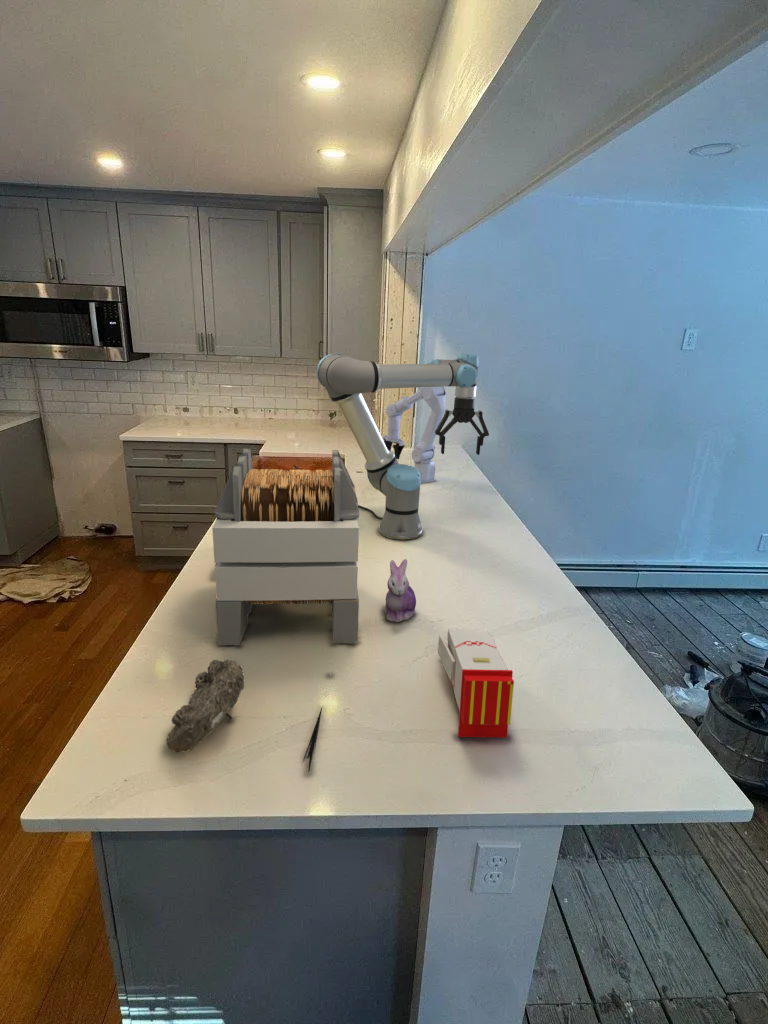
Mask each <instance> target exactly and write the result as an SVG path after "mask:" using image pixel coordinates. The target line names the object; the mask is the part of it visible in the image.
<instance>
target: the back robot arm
mask: <svg viewBox="0 0 768 1024" xmlns="http://www.w3.org/2000/svg"><path fill="white" fill-rule="evenodd" d="M447 396H448V393H447V391H446V387H445V386H443V387H420V389H419V390H417V391H416V392H415V393H413V394H412V395H410V396H405V395H404V396H401V398H400V399H399V400H396V401H394V403H389V404H387V406H386V407H385V414H386V415H387V416H388V417H387V435H382V439H383V441H384V443H385V445H386V447H387V449H388V451H392V448H393V453H394V454H395V457H396V459H397V460H399V459H400V458H401V454H402V451H403V450H404V448H405V441H404V440H402V439H401V438H400V433H401V432H400V431H401V419H402V415H403V414H404V413H405V412H407V411H408V410H410V409H412V408H413V405H414V404H415V403H417V402H419V401H422V400H424V401H425V403H426V404H427V406H428V407H429V408H430V409H431V411H430V412H429V416H428V419H427V422H426V425H425V428H424V431H423V434H422V436H421V440H420V441H419V442H418V443H416V445H415V447H414V449H413V450H412V452H411V458H412V460H413V463H414V466H413V467H414V468H416V469H417V470H418V471H419V472H420V479H421V484H423V483H430V482H431V483H432V482H436V479H435V477H436V463H435V462H434V461H433V458H434V457H435V449H436V445H434V442H435V439H436V436H437V435H436V434H435V430H436V429H437V427H438V425H439V423H440V422H441V420H442V418H443V416H444V414H445V410H446V398H447Z"/></svg>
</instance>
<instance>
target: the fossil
mask: <svg viewBox="0 0 768 1024" xmlns="http://www.w3.org/2000/svg"><path fill="white" fill-rule="evenodd" d="M243 670H244V669H243V667H242V665H240V664H237V662H236V661H235V660H234V659H232V658H231V659H227V658H226V659H224V660H223V661H222V660H217V659H212V660H211V661H210V663H209V665H208V666H207V671H201V672H199V673H198V674H197V675H196V676H195V680H194V684H195V685H194V687H195V689H194V690H193V693H192V694H191V697H190V698H189V700H188V704H184V705H182V706H181V707H180V709H177V710H176V711H175V713H174V715H173V716H172V718H171V723H172V724H173V727H172V730H171V731H170V732H168V734H167V738H166V741H167V742H166V745H167V749H168V750H169V751H173V752H174V753H176V754H178V753H182V752H188V751H189V752H192V751H193V750H195V748H196V747H197V746H199V744H200V743H201V742H203V741H204V740H205V739H206V738H207V737H208V736H209V735H210V734H211V733H212V732H214V730H215V729H217V727H218V726H219V724H220V722H221V721H222V720H223V719H224V718H225V716H226V717H227V719H229V720H233V717H232V715H230V714H229V710H230V709H231V708H234V706H235V704H236V703H237V702H238V699H239V697H240V695H241V693H242V691H243V690H245V689H244V688H245V675H244V671H243Z"/></svg>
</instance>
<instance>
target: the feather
mask: <svg viewBox="0 0 768 1024" xmlns="http://www.w3.org/2000/svg"><path fill="white" fill-rule="evenodd" d="M329 675H330V676H331V675H332V674H331V673H330V674H329ZM322 710H323V707H321V708H320V710H319V713H318V716H317V719H316V723H315V725H314V728H313V731H312V733H311V737H310V739H309V742H308V745H307V748H306V751H305V754H304V757H303V760H302V763H301V767H302V765H303V763H304V761H305V758H308V759H309V760H308V762H307V763H308V764H307V766H308V771H310V770H311V766H312V765H311V764H312V760H313V757H315V756H314V755H315V751H316V749H315V746H317V739H318V733H319V729H320V722H321V717H322V712H323V711H322ZM313 754H314V755H313ZM306 755H307V757H306Z"/></svg>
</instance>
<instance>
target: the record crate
mask: <svg viewBox="0 0 768 1024" xmlns="http://www.w3.org/2000/svg"><path fill="white" fill-rule="evenodd" d="M331 454H332V455H331V458H332V459H331V469H325V470H324V469H315V470H311V469H300V470H297V469H289V470H283V469H281V468H280V469H278V468H277V469H273V468H271V469H269V468H266V469H265V468H260V469H259V468H258V469H257V468H252V466H253V465H252V452H251V448H243V449H242V451H241V453H240V455H239V457H238V460H237V462H236V464H235V465H234V466H233V468H232V470H231V473H230V475H229V477H228V479H227V482H226V484H225V486H224V488H223V491H222V492H221V495H220V497H219V499H218V501H217V504H216V506H215V509H214V517H215V518H216V520H214V523H213V525H212V543H213V544H212V545H213V561H214V563H215V564H216V562H217V564H216V567H215V566H214V574H215V591H216V599H215V604H214V605H215V619H216V620H215V621H216V629H217V641H218V642H217V646H219V647H220V646H221V647H225V646H240V644H241V643H242V640H243V637H244V634H245V632H246V629H247V627H248V624H249V615H251V611H252V606H253V605H272V604H273V605H278V604H279V605H281V604H282V605H290V604H292V605H297V604H299V605H300V604H309V605H310V604H315V605H316V604H331V623H332V624H331V626H332V644H351V645H355V644H356V643H357V642H359V607H360V605H359V603H360V598H359V591H358V575H359V574H358V571H359V566H358V562H359V538H360V537H359V535H360V526H359V521H358V518H359V517H360V508H359V507H358V505H359V503H358V497H357V493H356V486H355V484H354V482H353V480H352V477H351V475H350V473H349V471H348V468H347V466H346V464H345V462H344V460H343V458H342V455H341V454H340V451H339V450H338V449H332V453H331Z"/></svg>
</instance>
